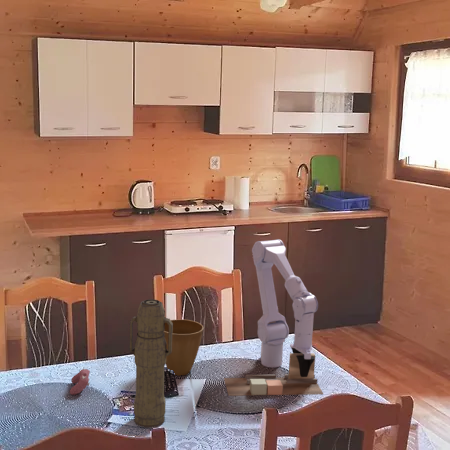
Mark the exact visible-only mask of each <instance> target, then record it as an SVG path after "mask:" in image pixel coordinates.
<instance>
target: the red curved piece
mask: <svg viewBox="0 0 450 450" xmlns="http://www.w3.org/2000/svg"><path fill="white" fill-rule="evenodd" d="M90 372H91V371H90V369H88V368H83V369H81V370H80V371H79V372H78V373H76V374H75V375H73V376H72V378H71V383H72V384H75V385H74V386H72V387H71V389H70V390H69V394H70V395H72V396H75V395H77V394H80V393H81V392H83V391H84V389H86V388H87V387H89V386H90V382H89V381H90V378H89V377H90Z"/></svg>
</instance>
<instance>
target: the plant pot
mask: <svg viewBox="0 0 450 450" xmlns="http://www.w3.org/2000/svg"><path fill="white" fill-rule="evenodd" d="M170 320H171V322H172V323H173V330H172V352H171V354H169V355H168V356H166V364H165V366H166V369H167V368H168V369H170V370H173V371H174V373H175V375H174V376H176V375H177V376H179V377H180V376H181V375H182V376H186V375H188V374H190V373H191V370H192V369H193V366H194V363H195V361H196V359H197V355H198V353H199V350H200V345H201V341H202V337H203V332H204V326H203V324H202V323H200V322H198V321H195V320H192V319H191V320H190V319H183V318H182V319H170ZM164 333H165V340H166V343H167V346H166V349H167V351H168V338H169V325H168V324H167V323H165V330H164ZM168 369H167V370H168Z"/></svg>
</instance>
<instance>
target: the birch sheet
mask: <svg viewBox="0 0 450 450" xmlns="http://www.w3.org/2000/svg"><path fill="white" fill-rule="evenodd" d="M297 355H302V356H303V353H293V352H292V353H291V352H290V353H289V361H288V364H289V365H288V374H289V376H288V379H314V375H315V366H316V365H315V364H316V354H315V353H314V352H311V356H314V358H315V360H314V362H313V363H312V365H311V367H310V370H309V373H308V376H307V377H301V376H300V368H299V362H298V359H297V357H296V356H297Z"/></svg>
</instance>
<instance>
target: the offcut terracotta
mask: <svg viewBox="0 0 450 450" xmlns="http://www.w3.org/2000/svg"><path fill="white" fill-rule="evenodd" d="M266 383H267V391H266V392H267V395H266V396H283V395H282V389H283V385H282V383H281V381H280V380H266Z"/></svg>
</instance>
